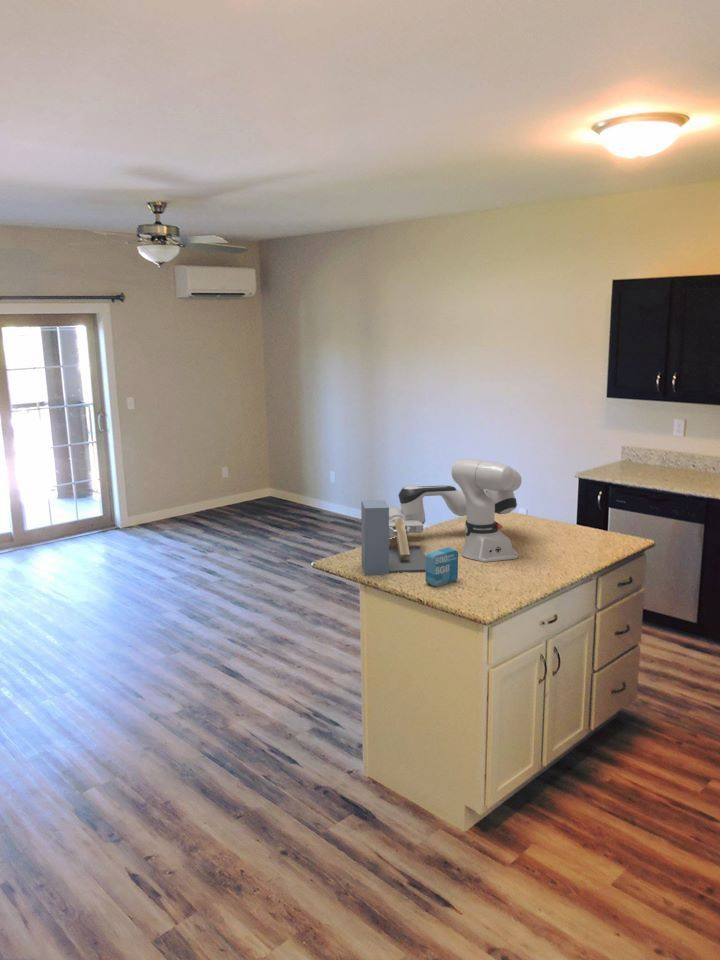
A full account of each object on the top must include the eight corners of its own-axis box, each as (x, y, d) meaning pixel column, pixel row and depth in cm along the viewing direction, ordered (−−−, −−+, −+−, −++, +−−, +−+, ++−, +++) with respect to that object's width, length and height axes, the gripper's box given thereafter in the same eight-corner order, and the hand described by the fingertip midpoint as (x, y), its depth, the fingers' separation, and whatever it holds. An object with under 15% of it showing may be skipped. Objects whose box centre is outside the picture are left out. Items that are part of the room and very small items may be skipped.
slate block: (384, 564, 293) (384, 500, 288) (388, 574, 282) (389, 507, 276) (361, 565, 292) (361, 500, 287) (364, 575, 281) (364, 508, 275)
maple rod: (402, 524, 309) (403, 518, 306) (408, 560, 294) (409, 554, 291) (394, 524, 308) (395, 518, 306) (400, 560, 294) (400, 554, 291)
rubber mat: (419, 548, 314) (419, 545, 314) (433, 571, 285) (433, 569, 285) (379, 549, 312) (379, 547, 312) (389, 573, 283) (389, 570, 283)
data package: (433, 587, 268) (433, 555, 266) (425, 584, 272) (425, 552, 269) (457, 580, 275) (458, 549, 272) (449, 577, 279) (450, 546, 276)
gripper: (420, 530, 317) (426, 539, 304) (372, 531, 315) (376, 540, 302) (420, 515, 316) (426, 524, 302) (372, 516, 314) (376, 525, 300)
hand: (401, 532), depth 302 cm, fingers closed on maple rod, 3 cm apart
